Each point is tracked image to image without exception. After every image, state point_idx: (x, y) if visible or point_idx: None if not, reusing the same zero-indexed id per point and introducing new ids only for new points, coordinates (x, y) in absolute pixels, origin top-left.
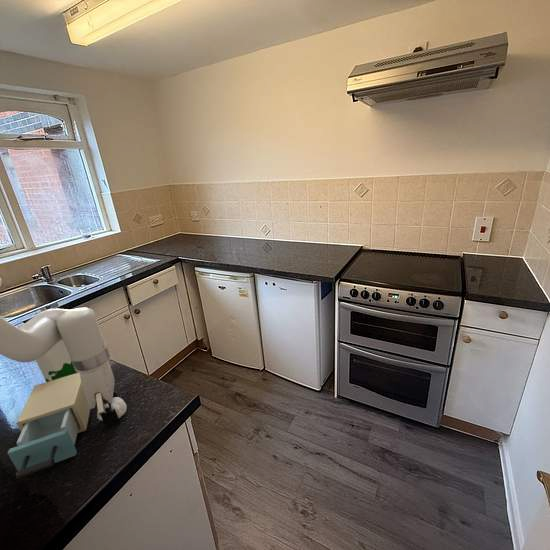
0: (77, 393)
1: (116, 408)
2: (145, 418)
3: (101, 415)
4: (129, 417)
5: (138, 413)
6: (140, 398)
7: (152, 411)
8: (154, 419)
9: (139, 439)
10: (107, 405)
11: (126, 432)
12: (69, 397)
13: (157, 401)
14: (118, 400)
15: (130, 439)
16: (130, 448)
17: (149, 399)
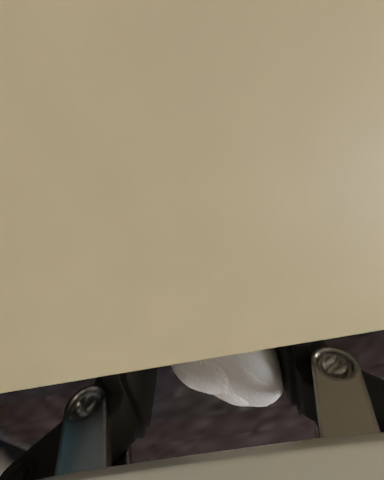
0: (371, 331)
1: (190, 387)
2: (147, 427)
3: (71, 403)
4: (171, 376)
5: (185, 402)
6: (283, 393)
7: (179, 441)
8: (134, 451)
9: (44, 427)
10: (217, 360)
11: (84, 383)
12: (266, 153)
13: (232, 447)
14: (246, 402)
15: (46, 402)
16: (4, 410)
17: (258, 423)
